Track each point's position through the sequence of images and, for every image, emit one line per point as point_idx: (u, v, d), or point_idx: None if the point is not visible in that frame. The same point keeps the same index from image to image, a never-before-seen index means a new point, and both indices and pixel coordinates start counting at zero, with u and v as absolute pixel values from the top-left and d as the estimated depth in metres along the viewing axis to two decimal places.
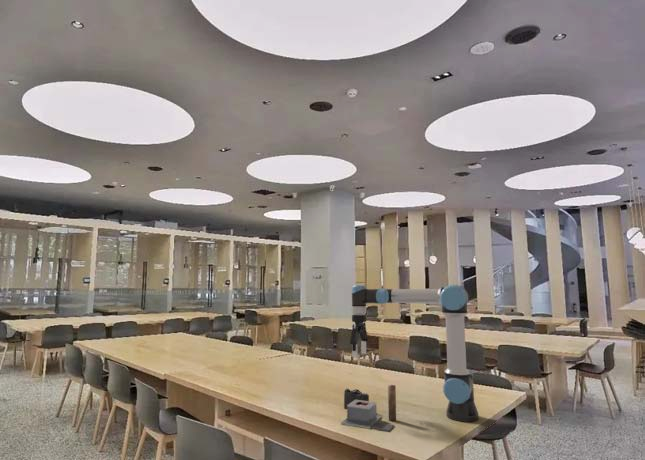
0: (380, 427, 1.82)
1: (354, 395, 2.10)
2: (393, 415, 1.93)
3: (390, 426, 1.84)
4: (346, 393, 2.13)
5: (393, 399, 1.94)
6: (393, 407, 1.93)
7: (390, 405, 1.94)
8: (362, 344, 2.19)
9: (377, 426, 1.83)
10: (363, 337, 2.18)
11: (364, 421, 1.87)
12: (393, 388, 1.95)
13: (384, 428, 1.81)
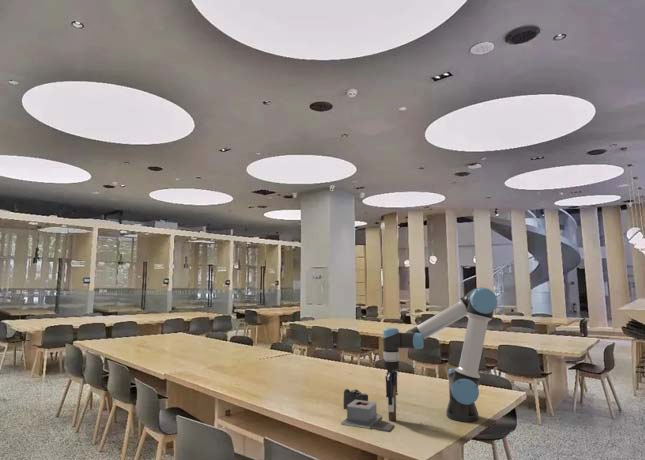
0: (380, 427, 1.82)
1: (353, 395, 2.09)
2: (393, 415, 1.93)
3: (390, 426, 1.84)
4: (345, 393, 2.13)
5: None
6: None
7: None
8: None
9: (377, 426, 1.83)
10: None
11: (364, 421, 1.87)
12: (393, 388, 1.95)
13: (384, 428, 1.81)
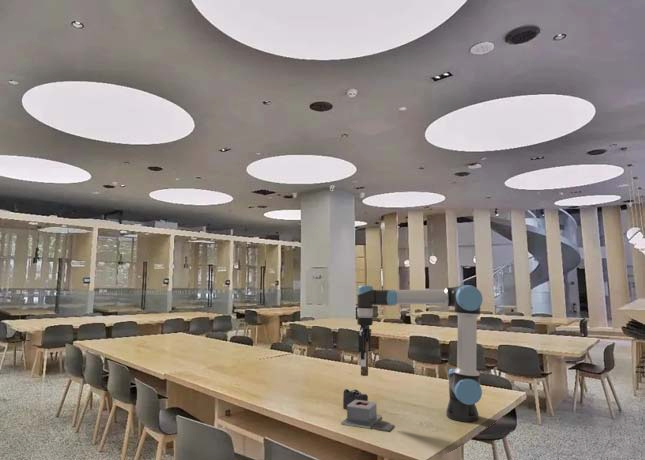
0: (380, 427, 1.82)
1: (353, 395, 2.09)
2: (365, 370, 1.95)
3: (390, 426, 1.84)
4: (345, 393, 2.12)
5: None
6: None
7: None
8: None
9: (377, 426, 1.83)
10: None
11: (364, 421, 1.87)
12: (366, 343, 1.97)
13: (384, 428, 1.81)
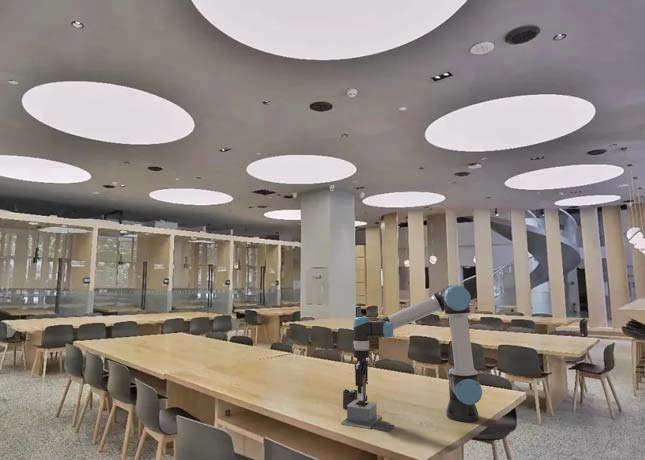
0: (380, 427, 1.82)
1: (353, 395, 2.09)
2: (362, 404, 1.93)
3: (390, 426, 1.84)
4: (345, 393, 2.12)
5: None
6: None
7: None
8: None
9: (377, 426, 1.83)
10: None
11: (364, 421, 1.87)
12: (363, 377, 1.95)
13: (384, 428, 1.81)
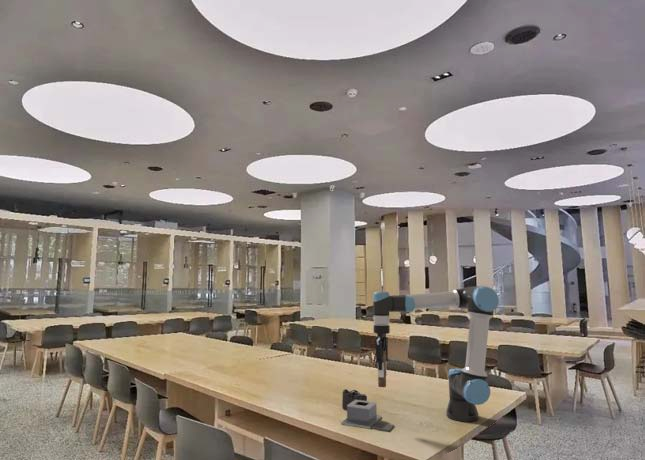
0: (380, 427, 1.82)
1: (352, 396, 2.09)
2: (383, 381, 1.85)
3: (390, 426, 1.84)
4: (344, 394, 2.12)
5: None
6: None
7: None
8: None
9: (377, 426, 1.83)
10: None
11: (364, 421, 1.87)
12: (383, 353, 1.87)
13: (384, 428, 1.81)
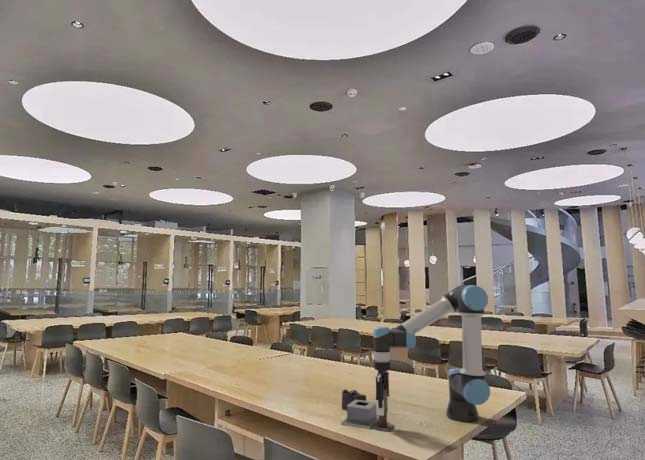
0: (380, 427, 1.82)
1: (351, 396, 2.08)
2: (384, 421, 1.82)
3: (390, 426, 1.84)
4: (344, 394, 2.12)
5: (384, 404, 1.84)
6: (384, 412, 1.83)
7: None
8: None
9: (377, 426, 1.83)
10: None
11: (364, 421, 1.87)
12: (384, 392, 1.84)
13: (384, 428, 1.81)
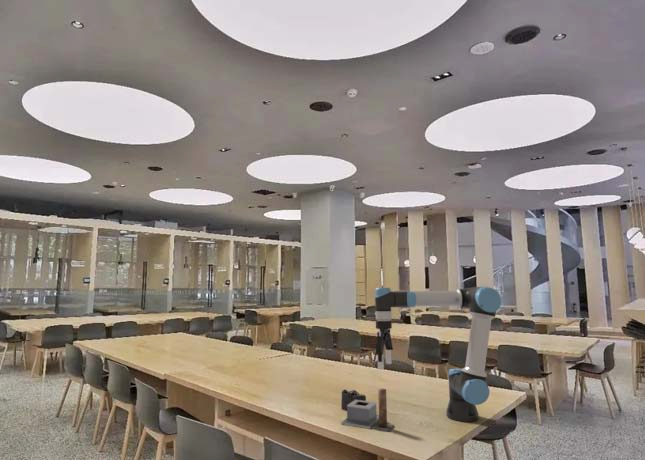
0: (380, 427, 1.82)
1: (351, 396, 2.08)
2: (384, 421, 1.82)
3: (390, 426, 1.84)
4: (343, 394, 2.11)
5: (384, 404, 1.84)
6: (384, 412, 1.83)
7: (380, 410, 1.83)
8: (387, 353, 1.95)
9: (377, 426, 1.83)
10: (388, 345, 1.95)
11: (364, 421, 1.87)
12: (384, 392, 1.84)
13: (384, 428, 1.81)
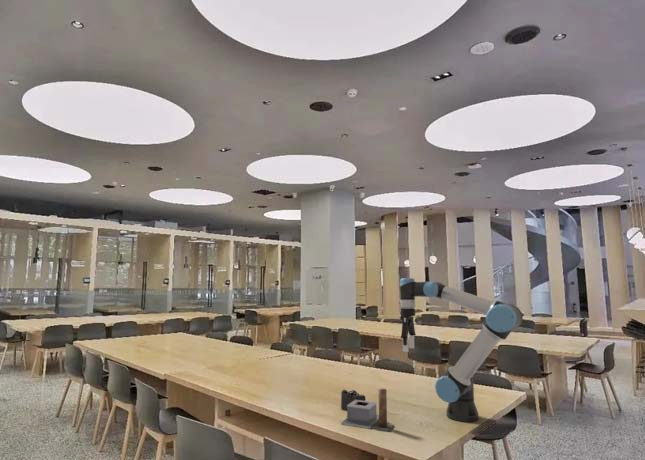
0: (380, 427, 1.82)
1: (351, 396, 2.08)
2: (384, 421, 1.82)
3: (390, 426, 1.84)
4: (343, 394, 2.11)
5: (384, 404, 1.84)
6: (384, 412, 1.83)
7: (380, 410, 1.84)
8: (410, 338, 2.13)
9: (377, 426, 1.83)
10: (411, 331, 2.13)
11: (364, 421, 1.87)
12: (384, 392, 1.85)
13: (384, 428, 1.81)
